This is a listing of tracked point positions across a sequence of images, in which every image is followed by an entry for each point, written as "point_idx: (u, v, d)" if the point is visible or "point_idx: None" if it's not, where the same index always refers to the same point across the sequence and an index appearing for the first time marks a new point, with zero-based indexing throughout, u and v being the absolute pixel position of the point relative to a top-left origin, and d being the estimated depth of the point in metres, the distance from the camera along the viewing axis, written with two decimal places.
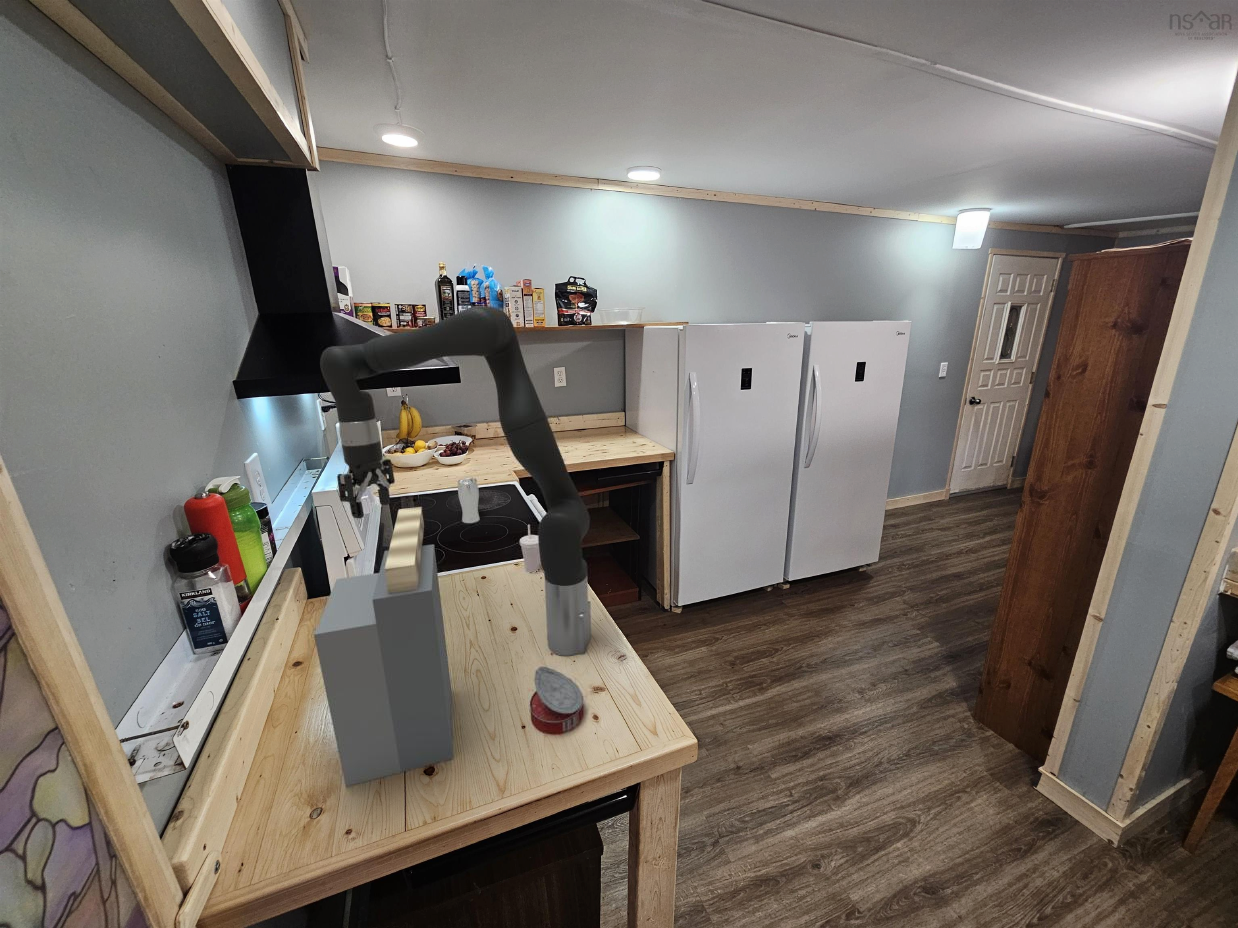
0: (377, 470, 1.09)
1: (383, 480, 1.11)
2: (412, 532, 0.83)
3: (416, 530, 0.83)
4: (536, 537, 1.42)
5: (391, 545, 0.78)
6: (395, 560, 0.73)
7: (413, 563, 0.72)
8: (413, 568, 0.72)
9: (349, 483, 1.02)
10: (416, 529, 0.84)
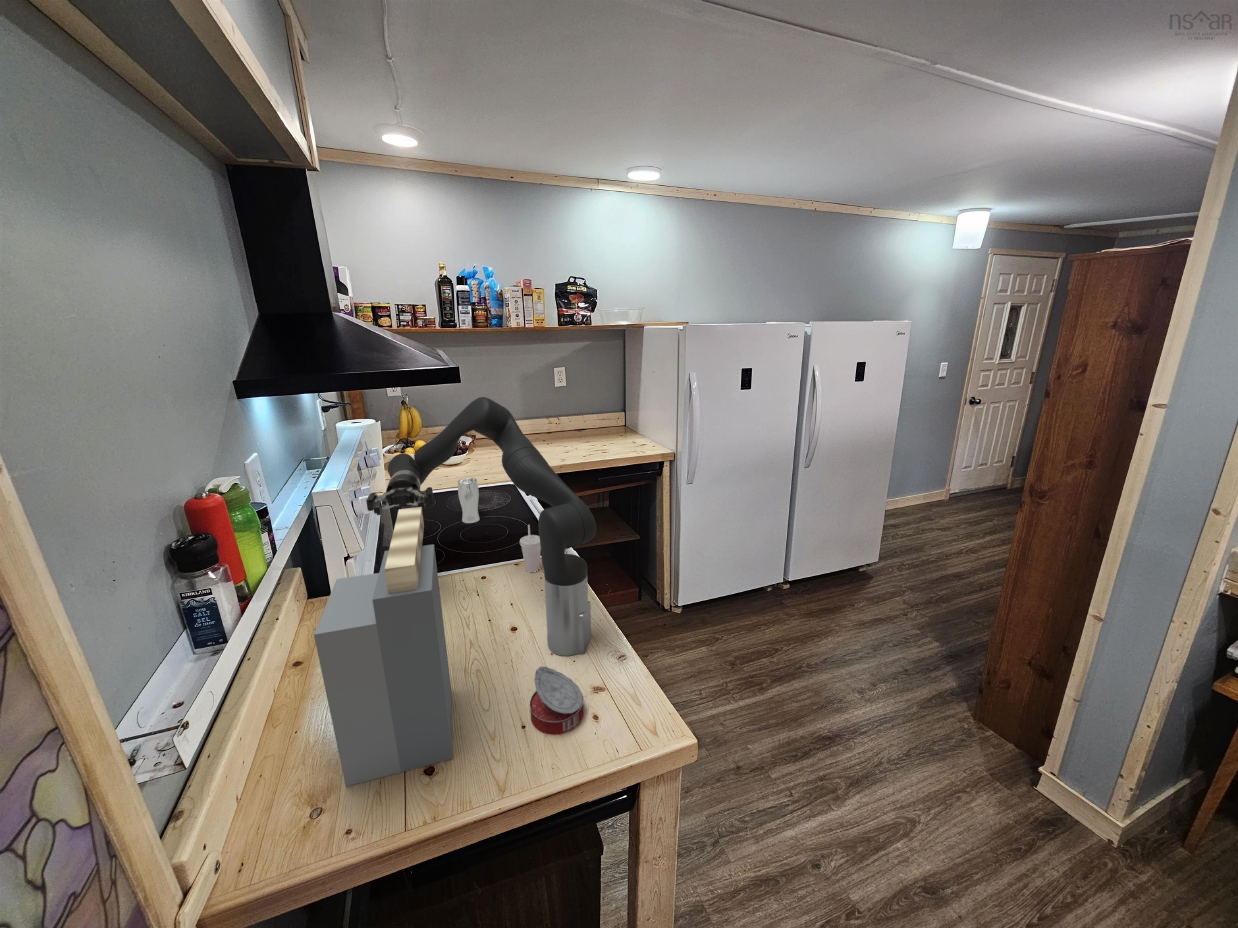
0: (406, 488, 1.18)
1: (413, 491, 1.16)
2: (412, 532, 0.83)
3: (416, 530, 0.83)
4: (536, 537, 1.42)
5: (391, 545, 0.78)
6: (395, 560, 0.73)
7: (413, 563, 0.72)
8: (413, 568, 0.72)
9: (371, 495, 1.15)
10: (416, 529, 0.84)
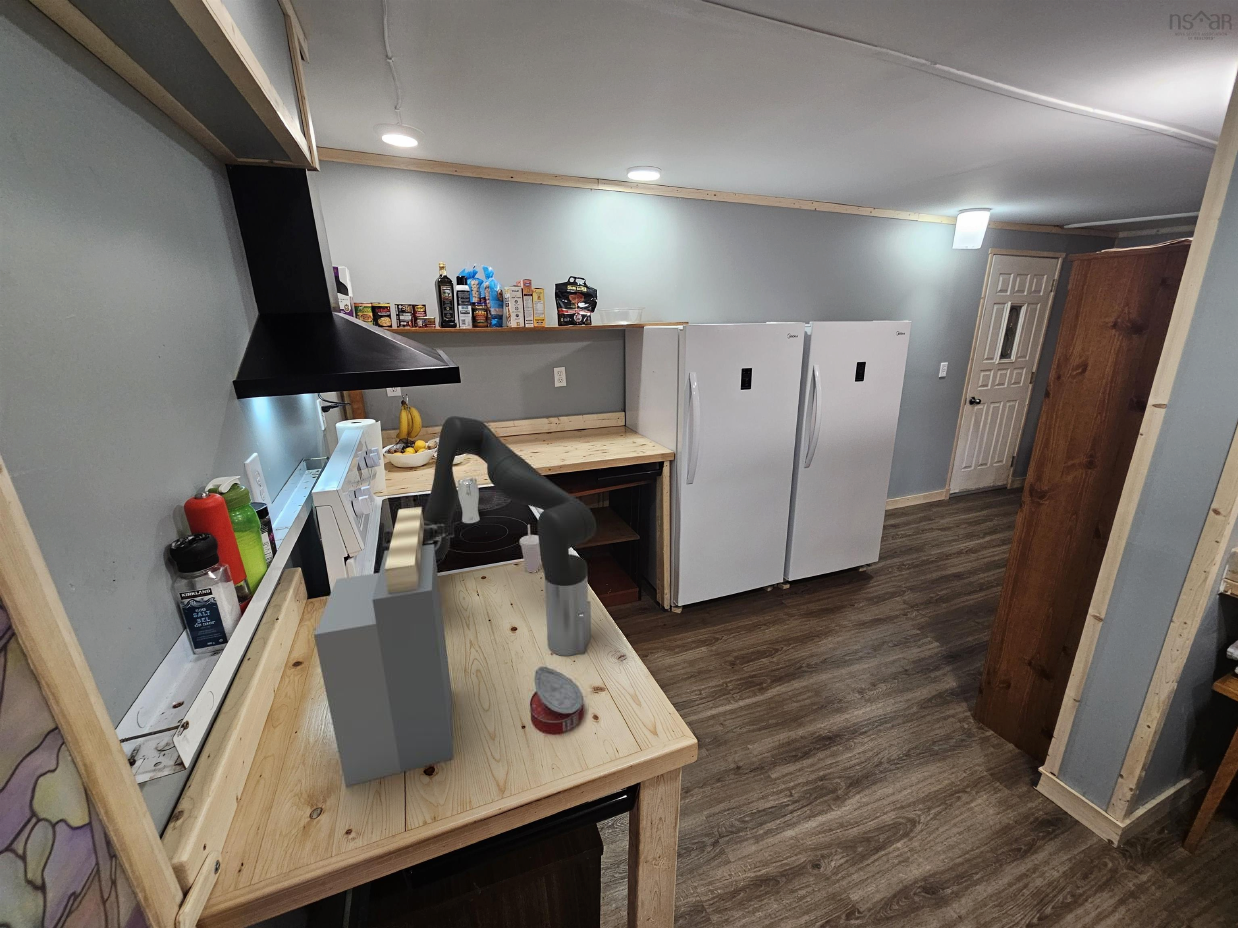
0: None
1: (433, 525, 1.09)
2: (412, 532, 0.83)
3: (416, 530, 0.83)
4: (536, 537, 1.42)
5: (391, 545, 0.78)
6: (395, 560, 0.73)
7: (413, 563, 0.72)
8: (413, 568, 0.72)
9: None
10: (416, 529, 0.84)
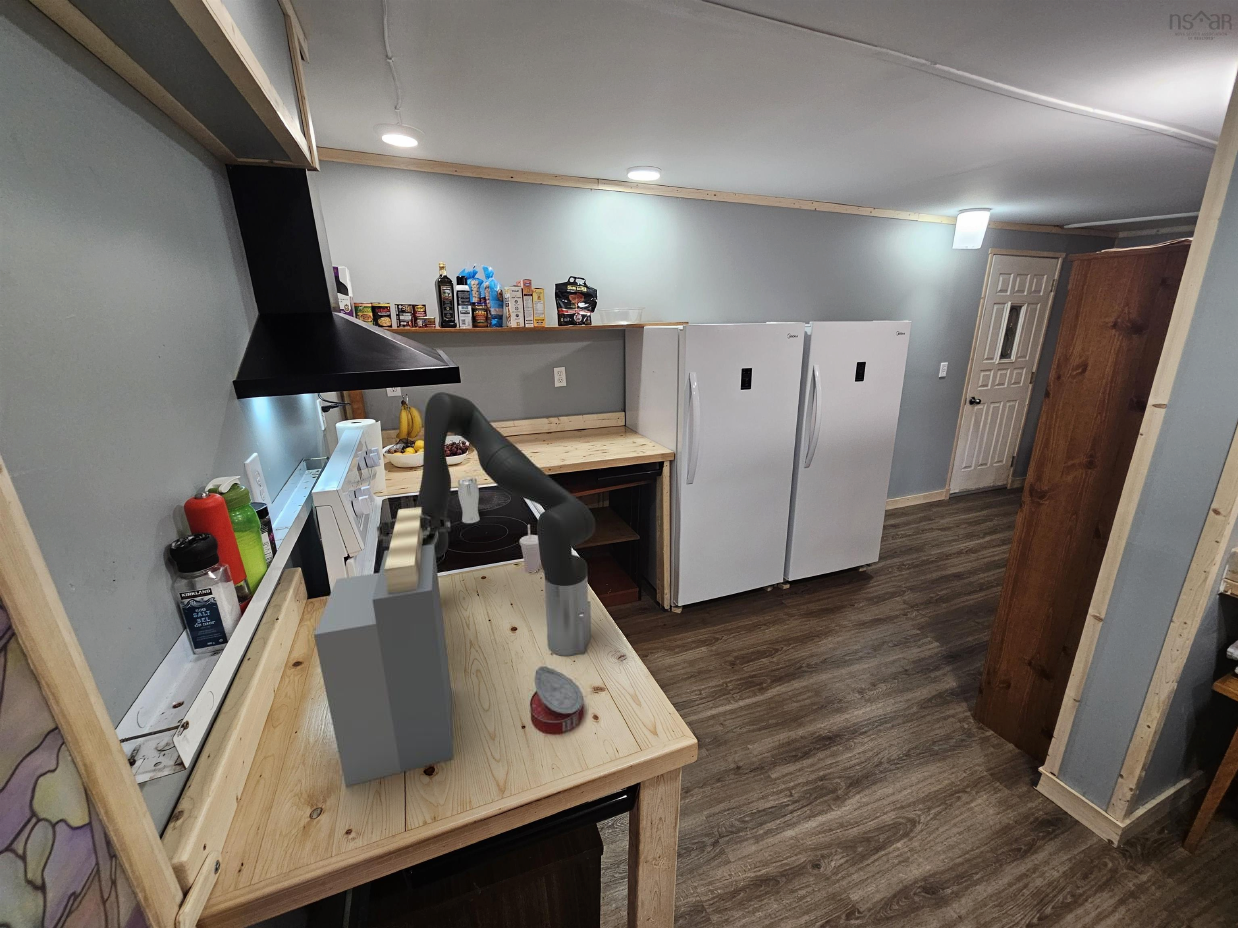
0: None
1: None
2: (412, 532, 0.83)
3: (416, 530, 0.83)
4: (536, 537, 1.42)
5: (391, 545, 0.78)
6: (395, 560, 0.73)
7: (413, 563, 0.72)
8: (413, 568, 0.72)
9: None
10: (415, 529, 0.84)
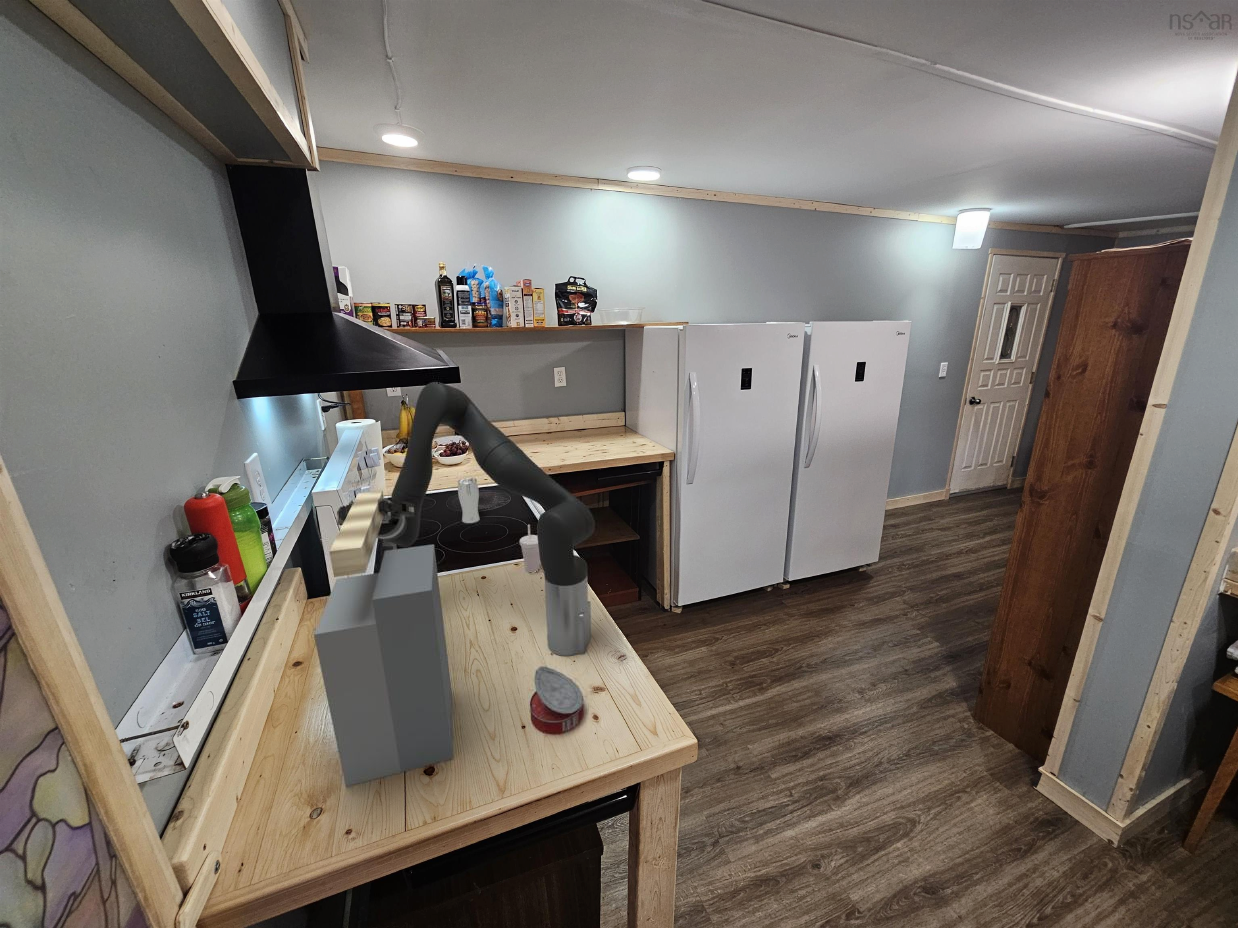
0: None
1: None
2: (367, 515, 0.80)
3: (371, 513, 0.81)
4: (536, 537, 1.42)
5: (342, 528, 0.75)
6: (342, 543, 0.70)
7: (360, 546, 0.69)
8: (360, 551, 0.69)
9: None
10: (371, 512, 0.81)
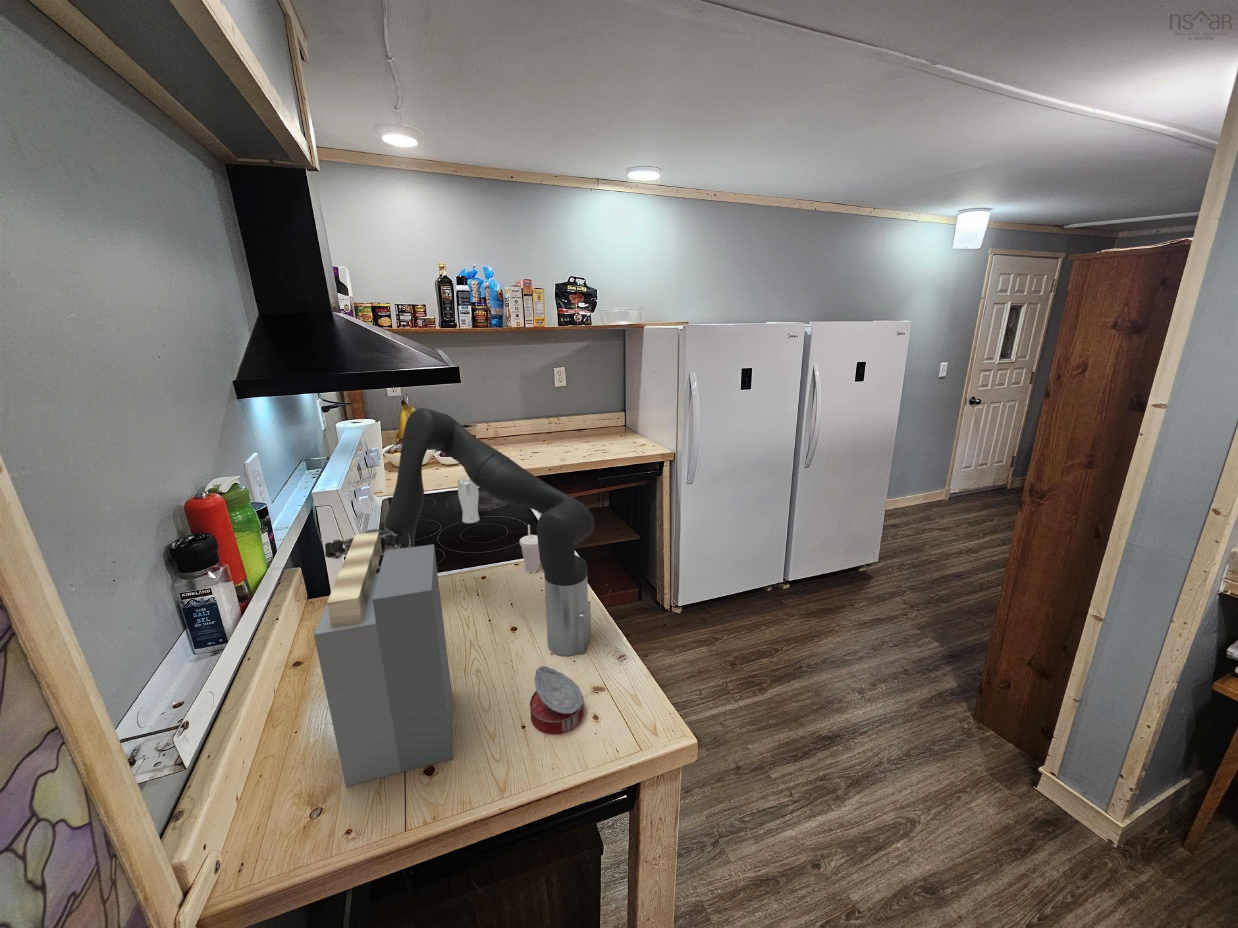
0: None
1: (385, 534, 0.94)
2: (363, 560, 0.82)
3: (368, 558, 0.82)
4: (536, 537, 1.42)
5: (339, 575, 0.77)
6: (340, 593, 0.72)
7: (357, 596, 0.71)
8: (357, 601, 0.71)
9: None
10: (368, 556, 0.83)
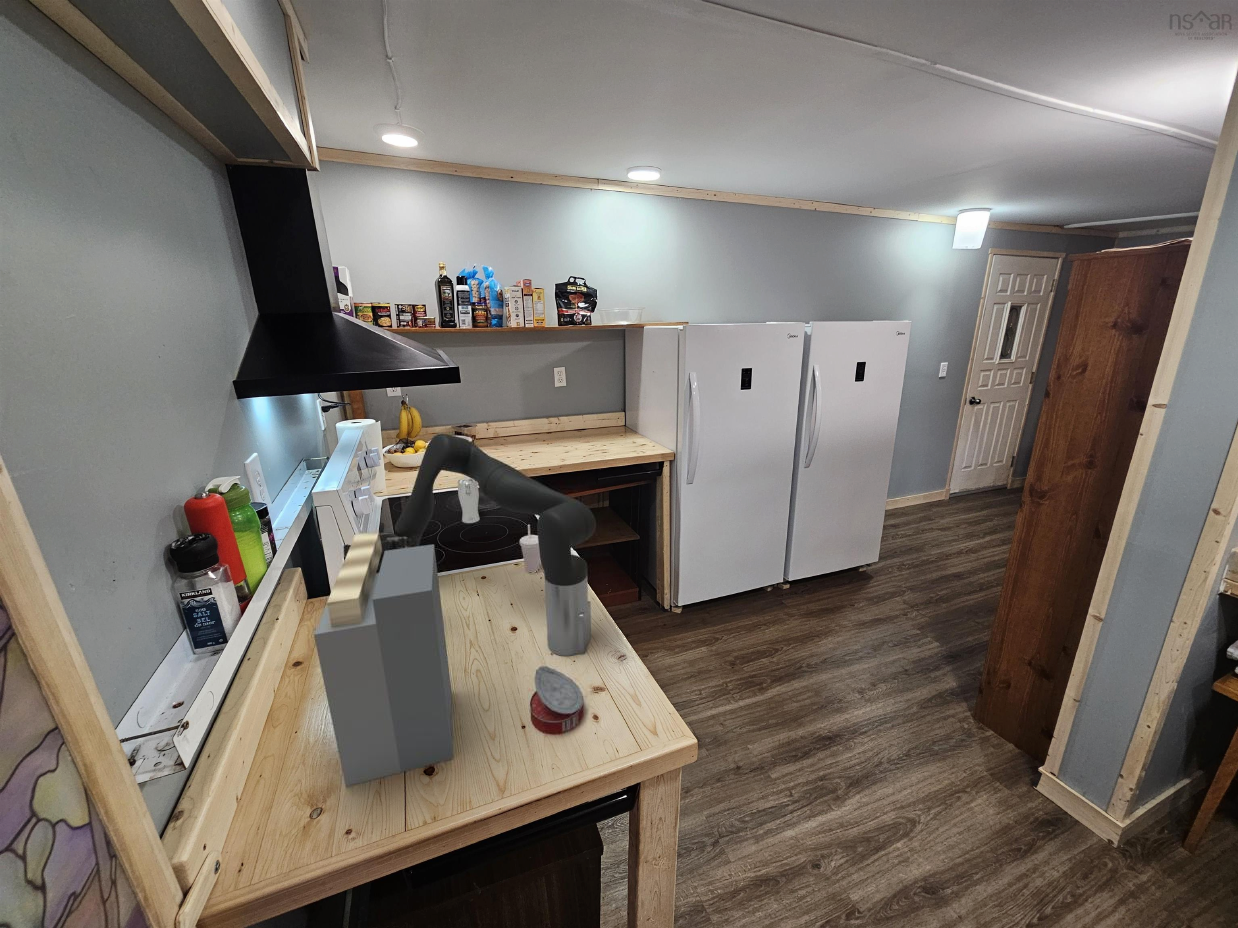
0: None
1: (395, 537, 1.07)
2: (363, 560, 0.82)
3: (368, 558, 0.82)
4: (536, 537, 1.42)
5: (339, 575, 0.77)
6: (340, 593, 0.72)
7: (357, 596, 0.71)
8: (357, 601, 0.71)
9: None
10: (368, 556, 0.83)
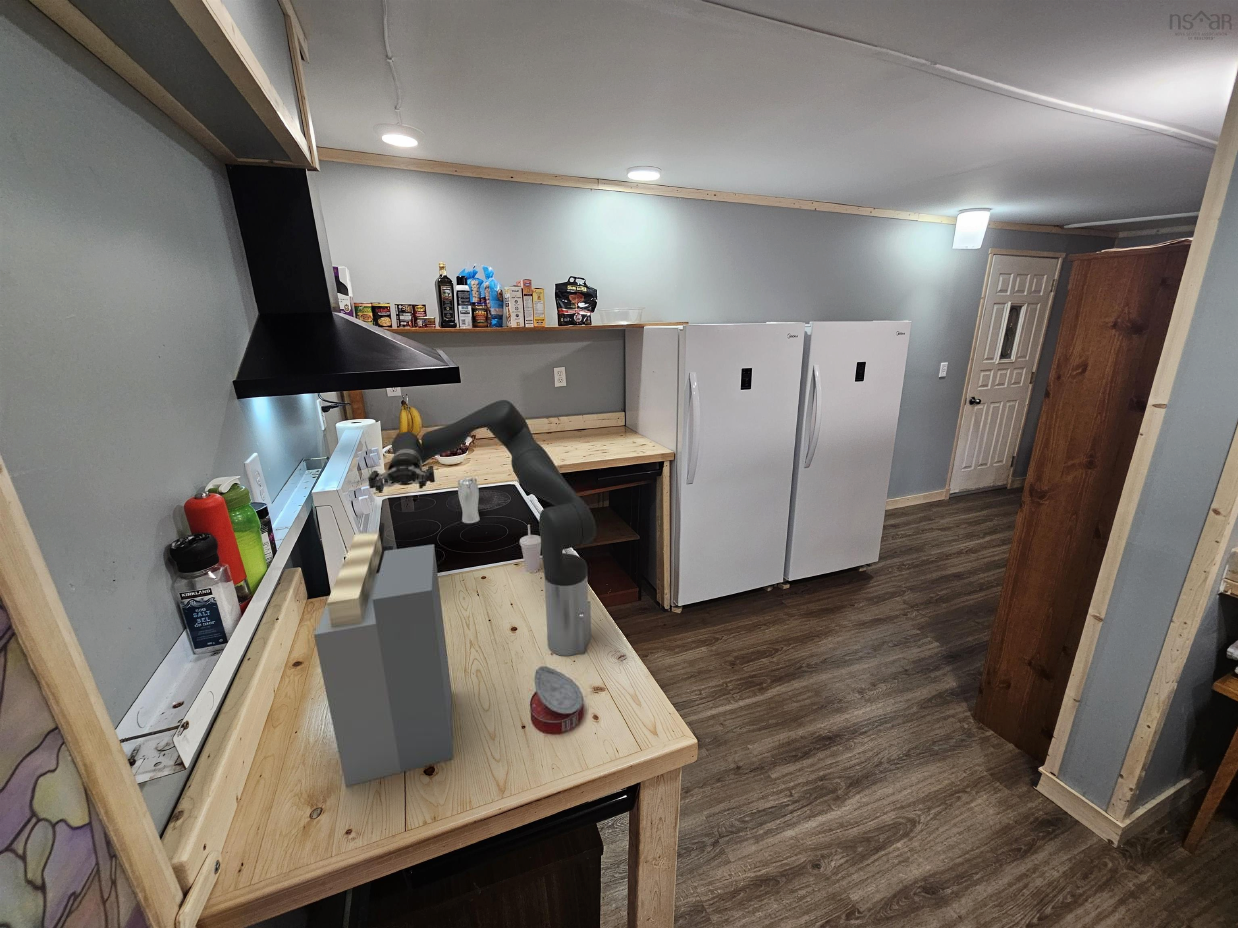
0: (408, 466, 1.19)
1: (414, 470, 1.17)
2: (363, 560, 0.82)
3: (368, 558, 0.82)
4: (536, 537, 1.42)
5: (339, 575, 0.77)
6: (340, 593, 0.72)
7: (357, 596, 0.71)
8: (357, 601, 0.71)
9: (373, 473, 1.16)
10: (368, 556, 0.83)
